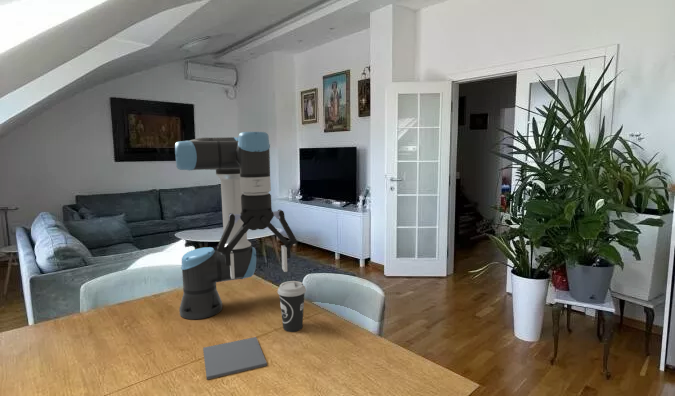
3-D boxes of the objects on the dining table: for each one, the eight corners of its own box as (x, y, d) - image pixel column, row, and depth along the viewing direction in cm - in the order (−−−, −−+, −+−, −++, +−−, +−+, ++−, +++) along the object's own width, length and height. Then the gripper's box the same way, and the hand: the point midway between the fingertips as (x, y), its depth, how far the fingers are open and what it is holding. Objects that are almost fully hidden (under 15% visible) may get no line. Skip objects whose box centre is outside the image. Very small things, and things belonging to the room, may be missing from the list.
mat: (203, 350, 114) (203, 347, 114) (256, 339, 120) (256, 336, 120) (206, 379, 99) (206, 376, 99) (266, 365, 105) (266, 362, 105)
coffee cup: (302, 335, 122) (301, 291, 120) (274, 332, 124) (272, 289, 122) (310, 322, 131) (309, 281, 129) (284, 319, 133) (283, 279, 131)
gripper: (204, 198, 87) (210, 285, 90) (307, 192, 96) (309, 271, 99) (203, 194, 94) (208, 275, 97) (299, 189, 103) (301, 263, 106)
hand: (259, 273), depth 98 cm, fingers open, 13 cm apart
